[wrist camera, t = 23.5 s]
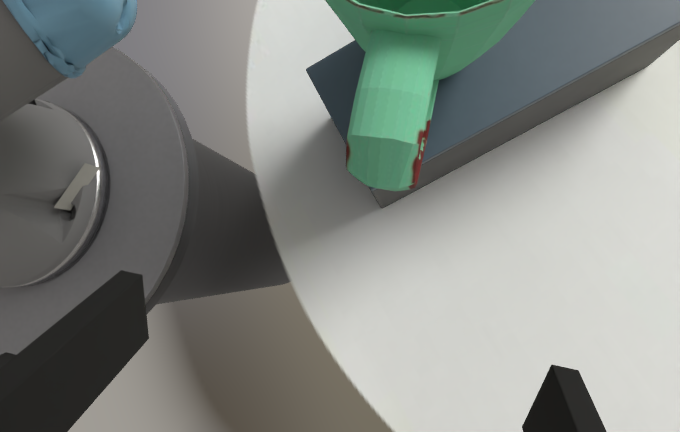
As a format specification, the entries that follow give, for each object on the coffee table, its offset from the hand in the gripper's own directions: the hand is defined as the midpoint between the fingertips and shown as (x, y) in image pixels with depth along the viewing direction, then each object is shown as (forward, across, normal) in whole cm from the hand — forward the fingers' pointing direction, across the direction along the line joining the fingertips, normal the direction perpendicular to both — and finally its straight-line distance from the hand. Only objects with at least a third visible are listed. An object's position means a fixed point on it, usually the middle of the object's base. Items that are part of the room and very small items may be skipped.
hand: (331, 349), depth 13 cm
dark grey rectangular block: (+21, +6, +6) cm, 23 cm away
